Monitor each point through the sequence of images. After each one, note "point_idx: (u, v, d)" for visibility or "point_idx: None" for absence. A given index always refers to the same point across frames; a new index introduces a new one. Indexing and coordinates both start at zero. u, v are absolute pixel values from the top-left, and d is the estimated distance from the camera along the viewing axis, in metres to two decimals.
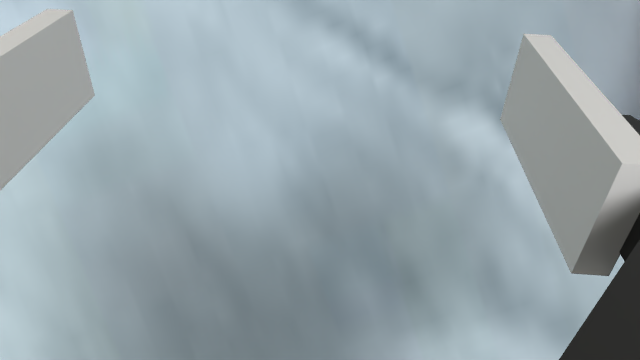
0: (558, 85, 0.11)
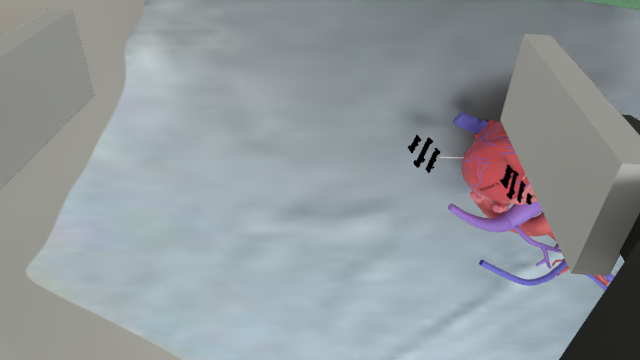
0: (558, 85, 0.11)
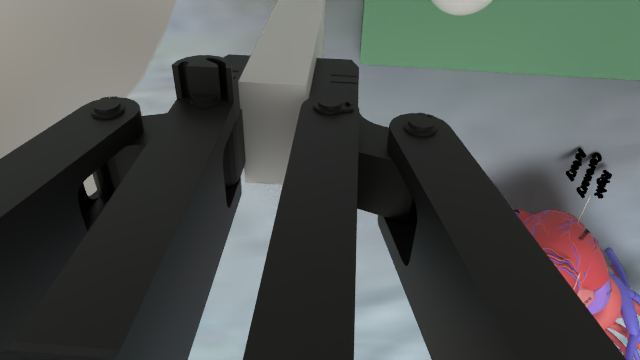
0: None
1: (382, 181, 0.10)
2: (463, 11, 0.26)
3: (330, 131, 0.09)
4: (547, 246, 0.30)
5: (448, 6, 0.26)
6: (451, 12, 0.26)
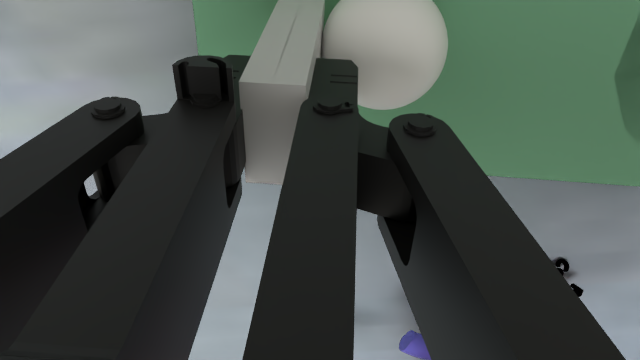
0: None
1: (381, 181, 0.10)
2: (409, 102, 0.16)
3: (329, 130, 0.09)
4: None
5: (395, 104, 0.15)
6: (391, 108, 0.16)
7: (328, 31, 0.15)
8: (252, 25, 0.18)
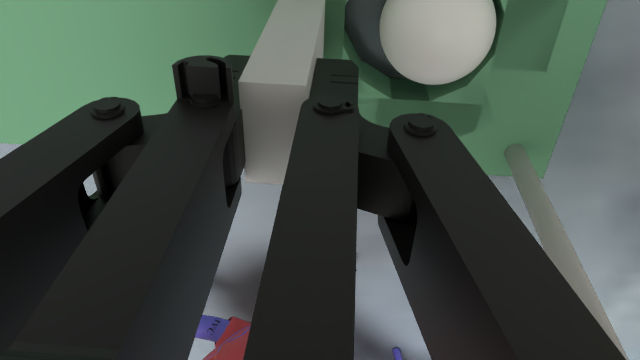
0: None
1: (382, 181, 0.10)
2: None
3: (330, 131, 0.09)
4: None
5: (458, 77, 0.17)
6: (449, 82, 0.18)
7: (397, 17, 0.16)
8: None
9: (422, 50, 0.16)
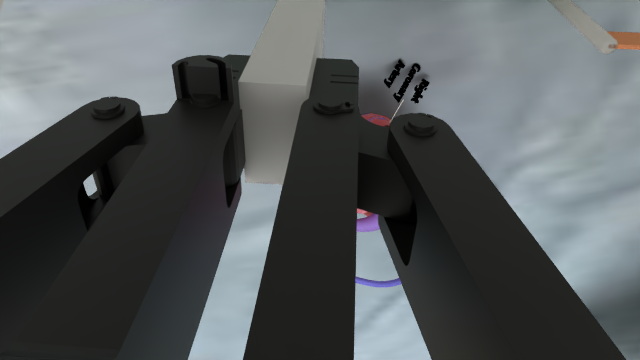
0: None
1: (382, 181, 0.10)
2: None
3: (330, 131, 0.09)
4: None
5: None
6: None
7: None
8: None
9: None
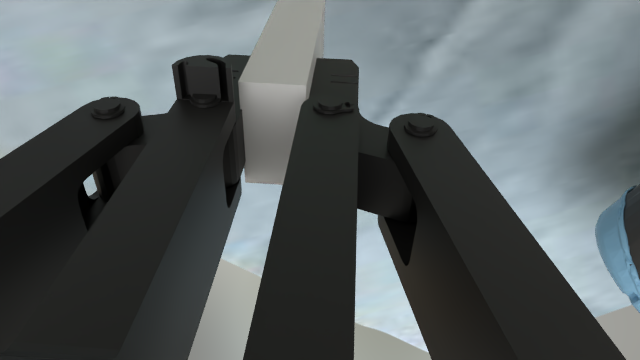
0: None
1: (382, 181, 0.10)
2: None
3: (330, 131, 0.09)
4: None
5: None
6: None
7: None
8: None
9: None
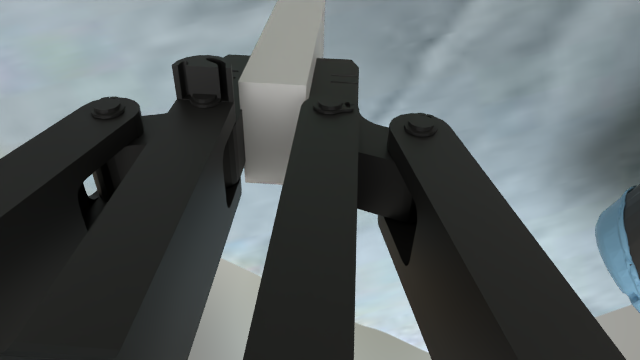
0: None
1: (382, 181, 0.10)
2: None
3: (330, 131, 0.09)
4: None
5: None
6: None
7: None
8: None
9: None
